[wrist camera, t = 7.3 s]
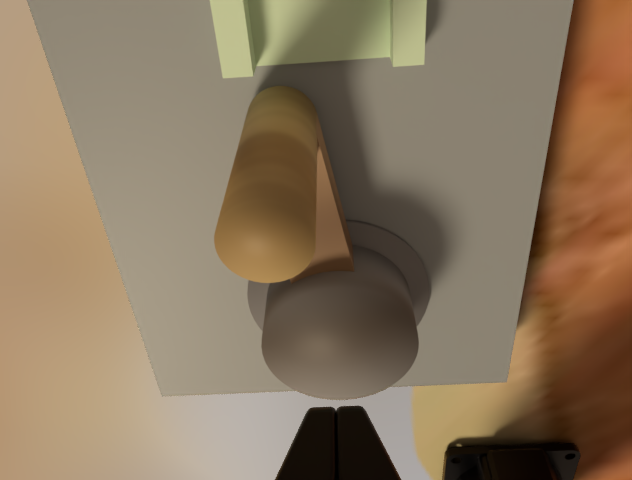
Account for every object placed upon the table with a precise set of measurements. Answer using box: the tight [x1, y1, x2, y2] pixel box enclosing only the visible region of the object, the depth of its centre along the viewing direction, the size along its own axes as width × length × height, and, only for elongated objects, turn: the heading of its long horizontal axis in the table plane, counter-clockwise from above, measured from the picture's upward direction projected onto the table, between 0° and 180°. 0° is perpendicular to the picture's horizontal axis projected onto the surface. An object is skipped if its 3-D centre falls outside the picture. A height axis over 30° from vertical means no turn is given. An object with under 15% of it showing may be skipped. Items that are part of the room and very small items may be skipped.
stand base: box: [27, 0, 574, 396], centre depth 19 cm, size 16×14×3 cm
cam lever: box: [214, 86, 419, 400], centre depth 16 cm, size 10×5×6 cm, turn 14°
